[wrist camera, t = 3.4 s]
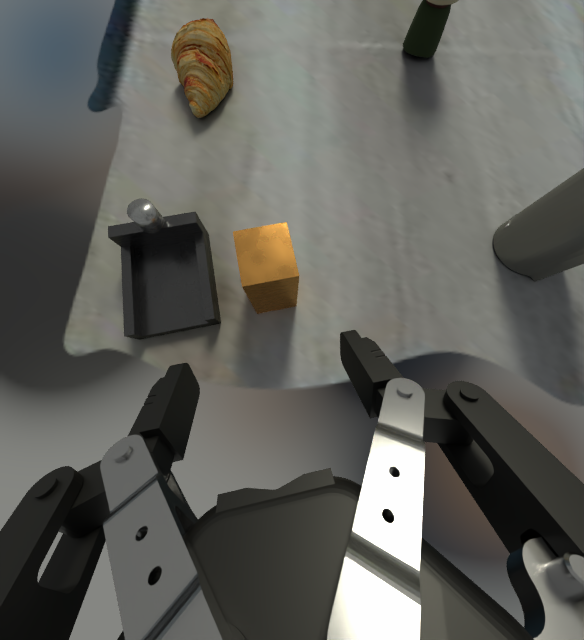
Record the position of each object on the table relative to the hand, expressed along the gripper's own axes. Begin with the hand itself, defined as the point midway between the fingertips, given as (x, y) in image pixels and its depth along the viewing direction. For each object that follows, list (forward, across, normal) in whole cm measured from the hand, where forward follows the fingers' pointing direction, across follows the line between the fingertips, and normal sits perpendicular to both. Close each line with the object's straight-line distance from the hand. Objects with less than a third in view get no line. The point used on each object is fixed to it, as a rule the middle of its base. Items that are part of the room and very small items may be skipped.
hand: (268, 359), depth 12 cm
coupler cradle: (+23, +12, +2) cm, 26 cm away
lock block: (+20, -1, +5) cm, 21 cm away
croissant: (+50, +4, -25) cm, 56 cm away
